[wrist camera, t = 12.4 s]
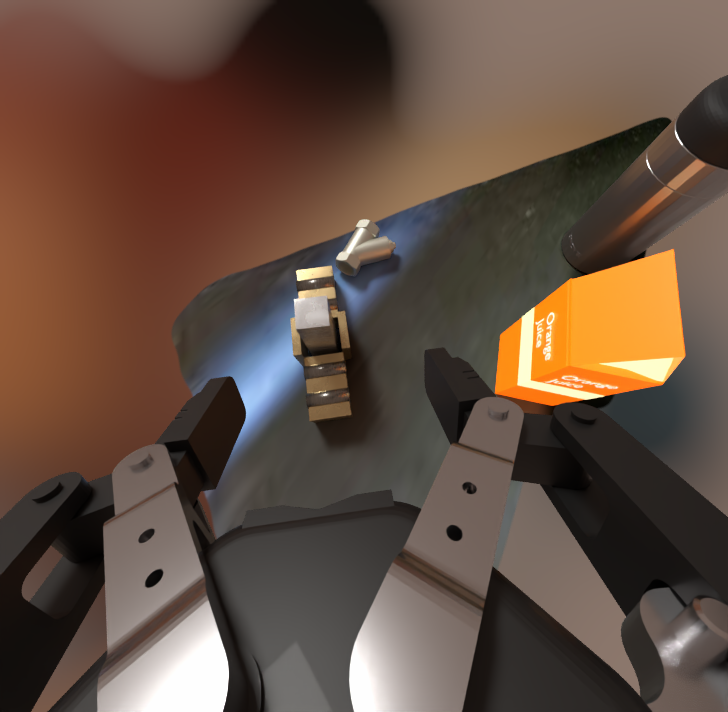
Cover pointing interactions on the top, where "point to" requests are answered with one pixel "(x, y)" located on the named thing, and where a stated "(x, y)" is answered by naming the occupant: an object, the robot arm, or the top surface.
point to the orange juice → (596, 336)
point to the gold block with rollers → (324, 371)
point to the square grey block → (316, 325)
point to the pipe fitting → (364, 248)
